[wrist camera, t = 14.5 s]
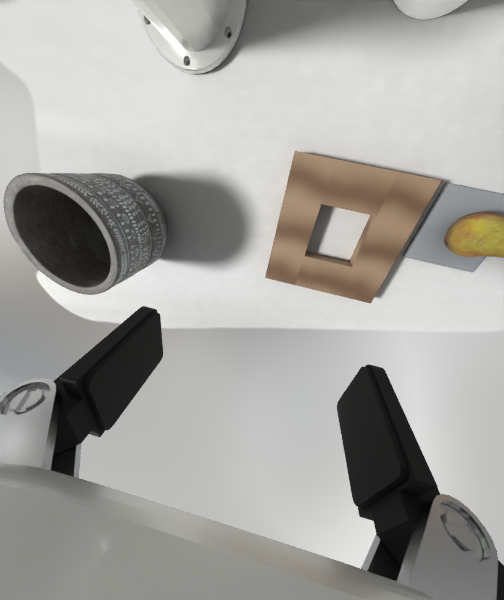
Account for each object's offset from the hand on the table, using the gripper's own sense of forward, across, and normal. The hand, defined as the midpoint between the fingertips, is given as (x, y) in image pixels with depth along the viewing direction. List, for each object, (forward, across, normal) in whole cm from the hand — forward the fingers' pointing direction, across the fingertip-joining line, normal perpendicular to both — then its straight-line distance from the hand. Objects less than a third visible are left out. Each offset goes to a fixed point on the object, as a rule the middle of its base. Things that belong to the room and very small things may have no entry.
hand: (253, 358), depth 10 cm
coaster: (+28, -24, -5) cm, 37 cm away
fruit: (+28, -24, -5) cm, 37 cm away
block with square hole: (+28, -8, -1) cm, 29 cm away
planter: (+28, +25, +4) cm, 38 cm away
